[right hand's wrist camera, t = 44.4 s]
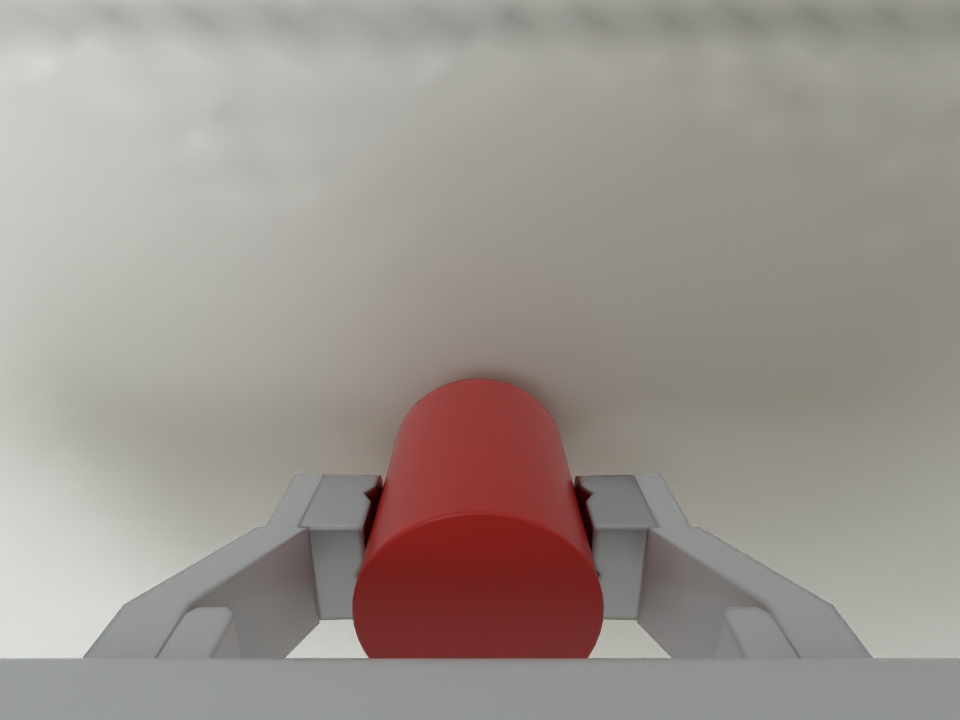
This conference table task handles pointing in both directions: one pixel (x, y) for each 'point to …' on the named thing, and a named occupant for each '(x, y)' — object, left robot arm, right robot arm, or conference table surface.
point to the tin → (478, 536)
